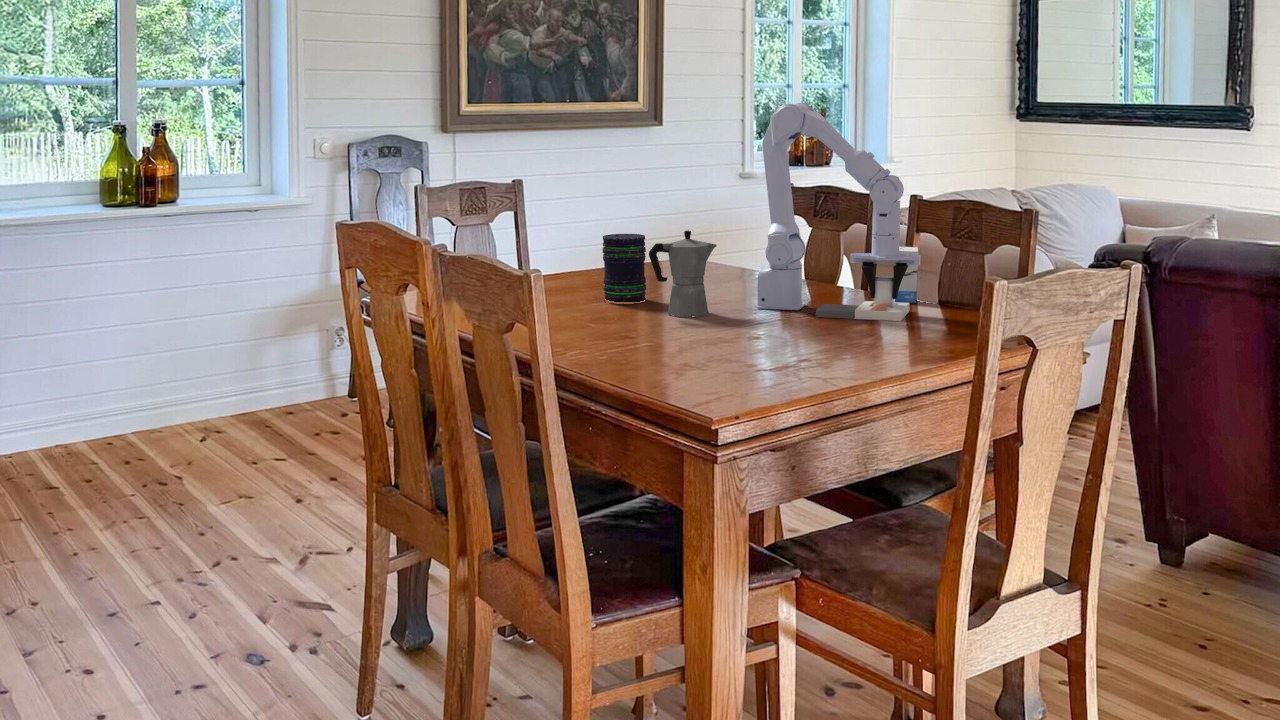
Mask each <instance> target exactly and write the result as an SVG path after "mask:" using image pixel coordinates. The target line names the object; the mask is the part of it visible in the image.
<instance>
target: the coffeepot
mask: <svg viewBox="0 0 1280 720" xmlns="http://www.w3.org/2000/svg"><path fill="white" fill-rule="evenodd" d="M683 233H684V239H681V240H675V241H672V242H667V243H663V242H662V243H660V242H659V243H655V244H654V245H653V246H652V247H651V249H650V250H649V251H648V257H649V260H650V263H651V266H652V269H653V272H654V274H655V278H656V280H657V281H658V282H659V283H661V282H662V283H665V282H667V281H668V277H666V276H665V277H664V276H663V275H662V267H661V266H660V262H659V257H658V255H657V254H658V253H667V254H668V260H669V266H670V273H671V274H670V275H671V277H672V284H671V289H670V290H671V292H670V298H669V305H668V312H667V314H668V316H670V315H674V316H680V317H679V318H693V317H692V316H701V317H704V316H703V315H706V316H707V314H708V315H709V309H708V304H707V303H708V302H707V295H706V290H705V288H706V287H705V283H704V282H705V279H704V276H705V274H706V266H707V265H706V264H707V261H708V259H709V257H710V255H711V254H712V252H713V250H714V249H715V248H717V247H718V246H717V244H715V243H711V242H706V241H700V240H695V239H691V236H692V231H691V230H684V231H683ZM674 316H673V317H674Z"/></svg>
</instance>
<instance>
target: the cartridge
mask: <svg viewBox="0 0 1280 720" xmlns="http://www.w3.org/2000/svg"><path fill="white" fill-rule="evenodd" d="M893 286H894V276H889V275H888V276H887V275H884V276H883V275H880V276H876V277H875V298H874V299H873V300H874V303H886V304H887V307H889V308H893V305H894V302H895V299H893Z"/></svg>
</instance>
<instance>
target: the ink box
mask: <svg viewBox="0 0 1280 720" xmlns="http://www.w3.org/2000/svg"><path fill="white" fill-rule="evenodd" d="M899 254H906V255H919V247H917V246H899ZM918 268H919V266H916V265H908V268H907V270H906V272H905V274H904V276H903V279H902V281H901V284H900V287H899V291H898V297H897V299H894V302H899V303H910V304H917V294H918V291H917V290H918V277H919V269H918Z"/></svg>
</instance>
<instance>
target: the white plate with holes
mask: <svg viewBox="0 0 1280 720" xmlns="http://www.w3.org/2000/svg"><path fill="white" fill-rule="evenodd" d="M873 303H874V301H871V300H869V301H868V300H864V301H863V302H862V303H861V304H860V306H859V307H858V308H857V309H856V310H855V318H854V320H871V321H872V320H873V321H874V320H876V321H894V322H901V321H903V320H904V318H905V317H906V316H907V315H908V313H909V312H910V306H911V305H910V304H911V303H899V302H895V301H894V305H893V308H889V307H887V311H873Z"/></svg>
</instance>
